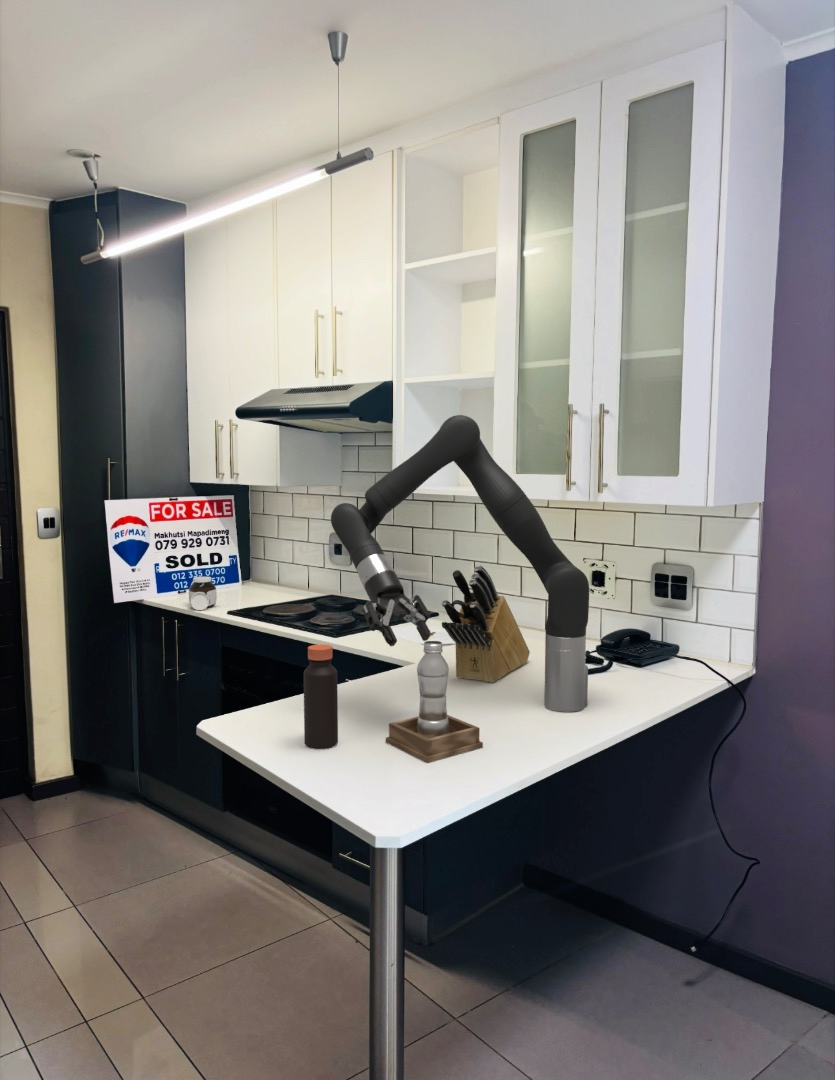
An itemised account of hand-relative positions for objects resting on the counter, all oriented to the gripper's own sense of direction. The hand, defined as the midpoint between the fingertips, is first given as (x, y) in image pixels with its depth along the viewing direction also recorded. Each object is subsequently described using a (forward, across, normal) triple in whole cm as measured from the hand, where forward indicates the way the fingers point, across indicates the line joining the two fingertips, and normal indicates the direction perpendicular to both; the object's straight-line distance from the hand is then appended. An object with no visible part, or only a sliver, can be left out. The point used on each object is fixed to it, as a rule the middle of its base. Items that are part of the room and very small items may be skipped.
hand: (410, 641), depth 167 cm
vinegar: (+10, -18, +19) cm, 28 cm away
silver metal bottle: (+19, 0, +8) cm, 21 cm away
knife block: (-4, +45, +33) cm, 56 cm away
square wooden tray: (+20, 0, +9) cm, 21 cm away
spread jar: (-102, +21, +131) cm, 167 cm away
